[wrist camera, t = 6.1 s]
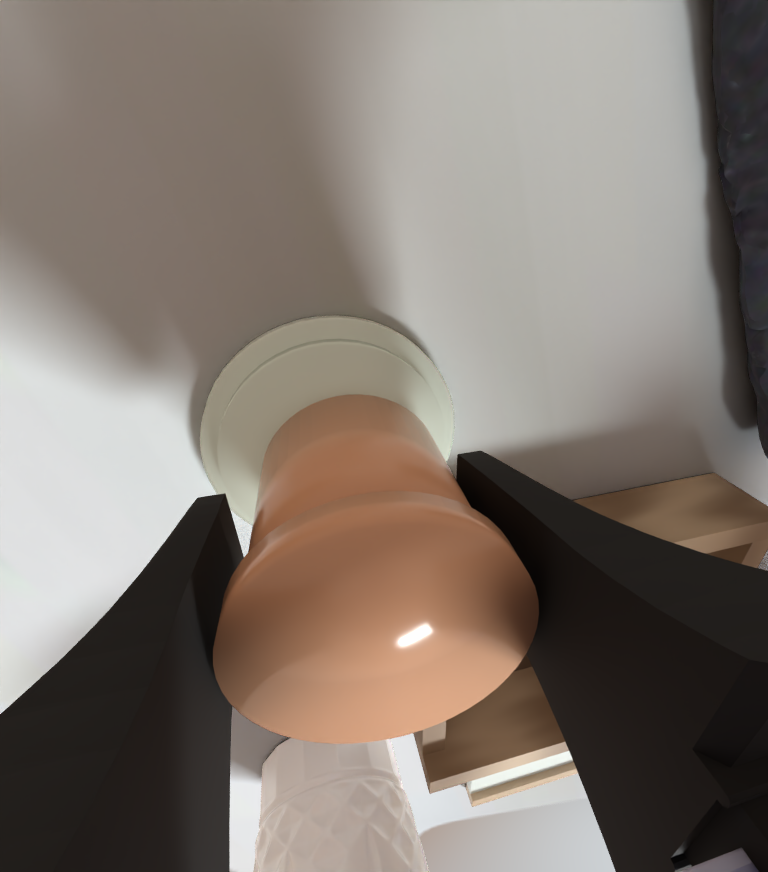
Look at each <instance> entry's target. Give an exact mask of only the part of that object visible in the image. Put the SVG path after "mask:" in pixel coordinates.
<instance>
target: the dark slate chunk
mask: <svg viewBox="0 0 768 872" xmlns="http://www.w3.org/2000/svg"><path fill="white" fill-rule="evenodd" d="M712 75H713V84H714V92H715V100H716V111H717V115H718V119H719V120H718V152H719V155H720V158H721V161H722V164H721V166H720V168H719V170H718V171H719V175H720V178H721V181H722V185H723V191H724V198H725V201H726V203H727V206H728V208H729V210H730V213H731V215H732V219H733V225H734V233H735V238H736V242H737V244H738V246H739V247H740V251H739V274H740V299H739V304H740V308H741V312H742V314H743V317H744V320H745V335H746V343H747V347H748V354H747V361H748V373H749V377H750V380H751V383H752V385H753V388H754V391H755V394H756V397H757V401H758V406H757V421H758V431H759V437H760V441H761V444H762V447H763V450H764V453H765V455H766V457H767V458H768V0H713V53H712ZM738 292H739V291H738Z"/></svg>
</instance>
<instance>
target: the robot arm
mask: <svg viewBox="0 0 768 872" xmlns="http://www.w3.org/2000/svg"><path fill="white" fill-rule="evenodd" d="M456 481H457V482H458V484H459V486H460V488H461V490H462V492H463V493H464V495H465V497H466V499H467V501H468V502H469V504H470V506H471V508H473V509H475V510H477V511H478V512H480V513H481V514H483V515H484V516H486V517H487V518H489V519H490V520H491V521H492V522H493V523H494V524H495V525H496V526H497V527H498V528H499V529H500V530H501V531H502V532H503V534H504V535H505V536H506V538H507V539H508V540H509V542H510V544H511V545H512V547H513V549H514V550H515V552H516V553H517V555H518V557H519V558H520V560H521V562H522V563H523V565H524V567H525V568H526V570H527V571H528V573H529V575H530V577H531V579H532V581H533V583H534V585H535V588H536V592H537V596H538V602H539V617H538V624H537V629H536V632H535V635H534V638H533V641H532V643H531V645H530V647H529V649H528V651H527V653H526V654H527V657H528V659H529V661H530V663H531V665H532V667H533V669H534V672H535V674H536V676H537V678H538V680H539V682H540V685H541V687H542V689H543V691H544V694H545V696H546V698H547V700H548V703H549V705H550V707H551V710H552V712H553V714H554V716H555V719H556V721H557V723H558V726H559V728H560V730H561V732H562V735H563V737H564V740H565V742H566V745H567V747H568V749H569V752H570V754H571V757H572V759H573V762H574V764H575V767H576V769H577V771H578V774H579V776H580V779H581V781H582V784H583V786H584V789H585V791H586V794H587V796H588V799H589V801H590V804H591V807H592V809H593V812H594V815H595V817H596V820H597V822H598V825H599V828H600V830H601V833H602V835H603V838H604V840H605V843H606V846H607V849H608V851H609V854H610V857H611V860H612V862H613V865H614V868H615V871H616V872H768V571H766V570H762V569H758V568H754V567H751V566H747V565H743V564H740V563H736V562H732V561H729V560H725V559H722V558H719V557H715V556H712V555H709V554H705V553H702V552H699V551H696V550H693V549H690V548H687V547H684V546H681V545H678V544H675V543H672V542H669V541H666V540H663V539H661V538H658V537H655V536H652V535H650V534H647V533H644V532H642V531H639V530H637V529H635V528H632V527H630V526H627V525H625V524H622V523H620V522H617V521H615V520H613V519H610V518H608V517H606V516H603V515H601V514H599V513H597V512H595V511H593V510H591V509H588V508H586V507H584V506H582V505H580V504H578V503H576V502H574V501H572V500H570V499H568V498H566V497H564V496H562V495H560V494H558V493H556V492H555V491H553V490H551V489H549V488H547V487H545V486H543V485H542V484H540V483H538V482H536V481H534V480H533V479H531V478H529V477H527V476H525V475H524V474H522V473H520V472H518V471H517V470H515V469H513V468H511V467H510V466H508V465H506V464H504V463H503V462H501V461H499V460H497V459H496V458H494V457H492V456H490V455H488V454H486V453H484V452H482V451H476V452H470V453H464V454H458V458H457V477H456ZM243 558H244V557H243V553H242V550H241V546H240V543H239V539H238V536H237V532H236V529H235V525H234V522H233V518H232V514H231V511H230V507H229V504H228V500H227V497H226V493H224V494H218V495H212V496H206V497H200V498H197V499H196V500H195V502H194V503H193V504H192V505H191V507H190V508H189V509H188V511H187V512H186V514H185V515H184V516H183V518H182V519H181V520H180V522H179V523H178V525H177V526H176V527H175V529H174V530H173V531H172V533H171V534H170V536H169V537H168V538H167V540H166V541H165V542H164V544H163V545H162V546H161V548H160V549H159V550H158V551H157V553H156V554H155V555H154V557H153V558H152V559H151V560H150V562H149V563H148V564H147V566H146V567H145V568H144V569H143V571H142V572H141V573H140V574H139V576H138V577H137V578H136V579H135V580H134V582H133V583H132V584H131V585H130V586H129V587H128V589H127V590H126V591H125V592H124V593H123V595H122V596H121V597H120V598H119V599H118V600H117V602H116V603H115V604H114V605H113V606H112V607H111V609H110V610H109V611H108V612H107V613H106V614H105V615H104V616H103V617H102V618H101V619H100V620H99V622H98V623H97V624H96V625H95V626H94V627H93V628H92V629H91V630H90V631H89V632H88V633H87V634H86V635H85V636H84V637H83V638H82V639H81V640H80V641H79V642H78V643H77V644H76V645H75V646H74V647H73V648H72V649H71V650H70V651H69V652H68V653H67V654H66V655H65V656H64V657H63V658H62V659H61V660H60V661H59V662H58V663H57V664H56V665H54V666H53V667H52V668H51V669H50V670H49V671H48V672H47V673H46V674H44V675H43V676H42V677H41V678H40V679H39V680H38V681H37V682H36V683H35V684H33V685H32V686H31V687H30V688H29V689H28V690H27V691H26V692H25V693H23V694H22V695H21V696H20V697H19V698H18V699H17V700H16V701H15V702H14V703H12V704H11V705H10V706H9V707H8V708H7V709H6V710H5V711H4V712H2V713H1V714H0V872H229V808H230V746H231V716H232V705H231V704H230V703H229V701H228V700H227V698H226V697H225V696H224V694H223V693H222V691H221V689H220V687H219V684H218V682H217V680H216V677H215V672H214V667H213V647H214V642H215V637H216V632H217V627H218V622H219V617H220V612H221V607H222V603H223V598H224V593H225V590H226V588H227V586H228V583H229V581H230V578H231V576H232V575H233V573H234V571H235V570H236V568H237V567H238V565H239V564H240V562H241V561H242V560H243Z"/></svg>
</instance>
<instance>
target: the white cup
mask: <svg viewBox="0 0 768 872" xmlns="http://www.w3.org/2000/svg"><path fill="white" fill-rule="evenodd" d="M254 872H429V868H428V865H427V862H426V858H425V854H424V851H423V847H422V844H421V841H420V838H419V836H418V832H417V829H416V824H415V820H414V816H413V813H412V809H411V806H410V803H409V800H408V797H407V795H406V793H405V791H404V790H403V784H402V780H401V776H400V772H399V768H398V764H397V760H396V757H395V753H394V749H393V745H392V742H391V740H390V739H387V740H380V741H374V742H366V743H353V744H329V743H316V742H309V741H303V740H298V739H294V738H289V739H288V740H286V741H284V742H283V743H281V744H279V745H278V746H277V747H276V748H275V749H274V751H273V752H272V753H271V754H270V756H269V757H268V758H267V759H266V761H265V762H264V763H263V767H262V786H261V809H260V819H259V832H258V835H257V838H256V842H255V864H254Z"/></svg>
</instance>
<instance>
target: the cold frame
mask: <svg viewBox="0 0 768 872" xmlns="http://www.w3.org/2000/svg"><path fill="white" fill-rule="evenodd" d="M572 501H574V502H576V503H578V504H580V505H582V506H584V507H586V508H588V509H591V510H593V511H595V512H597V513H599V514H601V515H603V516H606V517H608V518H610V519H613V520H615V521H617V522H620V523H622V524H625V525H627V526H630V527H632V528H635V529H637V530H639V531H642V532H644V533H647V534H650V535H652V536H655V537H658V538H661V539H663V540H666V541H669V542H672V543H675V544H678V545H681V546H684V547H687V548H690V549H693V550H696V551H699V552H702V553H705V554H709V555H712V556H715V557H719V558H722V559H725V560H729V561H732V562H736V563H740V564H743V565H747V566H751V567H754V568H758V566H759V564H760V562H761V560H762V559H763V557H764V555H765V553H766V551H767V550H768V506H766V505H765V504H763V503H762V502H760V501H758V500H757V499H755V498H754V497H752V496H750V495H749V494H747V493H746V492H744V491H743V490H741V489H739V488H738V487H736V486H735V485H733V484H731V483H730V482H728V481H727V480H725V479H723V478H722V477H720V476H719V475H717V474H716V473H710V474H705V475H700V476H695V477H690V478H685V479H679V480H674V481H669V482H664V483H659V484H654V485H649V486H644V487H639V488H633V489H628V490H623V491H618V492H613V493H608V494H603V495H598V496H593V497H587V498H582V499H577V500H572ZM414 737H415V741H416V744H417V748H418V752H419V756H420V759H421V763H422V767H423V771H424V774H425V778H426V782H427V786H428V789H429V793H430V794H431V793H434V792H437V791H440V790H444V789H447V788H450V787H453V786H457V785H460V784H463V783H466V782H470V781H473V780H476V779H479V778H482V777H486V776H489V775H492V774H495V773H499V772H502V771H505V770H508V769H512V768H515V767H518V766H521V765H525V764H528V763H531V762H534V761H537V760H541V759H544V758H547V757H550V756H554V755H557V754H560V753H563V752H567V751H569V749H568V747H567V745H566V742H565V740H564V737H563V735H562V732H561V730H560V728H559V726H558V723H557V721H556V719H555V716H554V714H553V712H552V710H551V707H550V705H549V703H548V700H547V698H546V696H545V694H544V691H543V689H542V687H541V685H540V682H539V680H538V678H537V676H536V674H535V672H534V669H533V667H532V665H531V663H530V661H529V659H528V657H527V654H526V655H525V656H524V658H523V659H522V661H521V662H520V664H519V665H518V666H517V668H516V669H515V670H514V671H513V672H512V673H511V675H510V676H509V677H508V678H507V679H506V680H505V681H504V682H503V683H502V684H501V685H500V686H499V687H498V688H497V689H495V690H494V691H493V692H492V693H490V694H489V695H488V696H486V697H485V698H484V699H483V700H481V701H480V702H478V703H477V704H475V705H474V706H472V707H470V708H469V709H467V710H465V711H464V712H462V713H460V714H458V715H456V716H454V717H452V718H450V719H448V720H446V721H444V722H442V723H439V724H437V725H434V726H432V727H429V728H426V729H424V730H421V731H418V732H414Z"/></svg>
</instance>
